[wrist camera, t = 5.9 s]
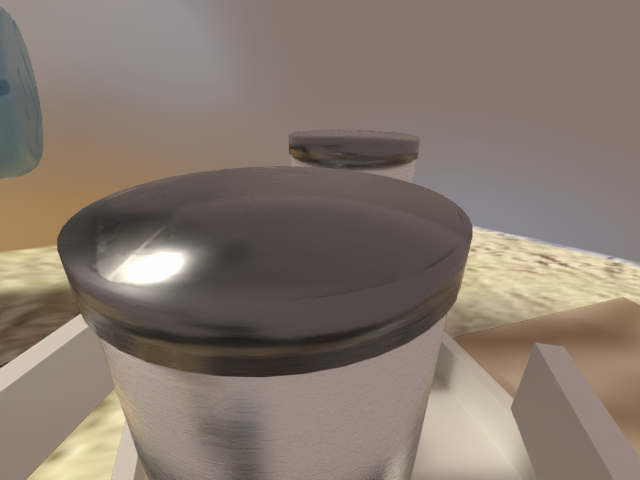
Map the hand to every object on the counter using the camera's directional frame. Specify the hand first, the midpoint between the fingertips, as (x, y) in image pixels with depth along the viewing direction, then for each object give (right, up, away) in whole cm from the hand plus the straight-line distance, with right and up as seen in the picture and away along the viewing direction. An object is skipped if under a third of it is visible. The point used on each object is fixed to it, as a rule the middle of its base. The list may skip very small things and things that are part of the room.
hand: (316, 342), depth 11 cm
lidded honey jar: (-1, -9, 0) cm, 9 cm away
